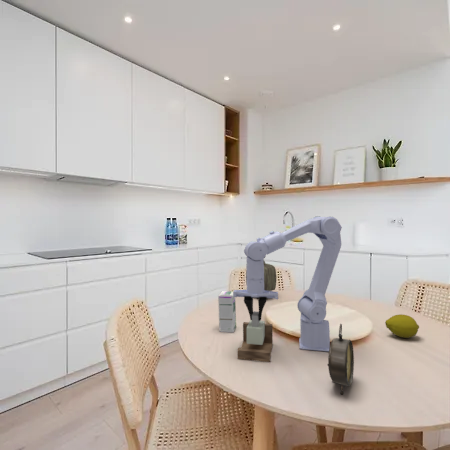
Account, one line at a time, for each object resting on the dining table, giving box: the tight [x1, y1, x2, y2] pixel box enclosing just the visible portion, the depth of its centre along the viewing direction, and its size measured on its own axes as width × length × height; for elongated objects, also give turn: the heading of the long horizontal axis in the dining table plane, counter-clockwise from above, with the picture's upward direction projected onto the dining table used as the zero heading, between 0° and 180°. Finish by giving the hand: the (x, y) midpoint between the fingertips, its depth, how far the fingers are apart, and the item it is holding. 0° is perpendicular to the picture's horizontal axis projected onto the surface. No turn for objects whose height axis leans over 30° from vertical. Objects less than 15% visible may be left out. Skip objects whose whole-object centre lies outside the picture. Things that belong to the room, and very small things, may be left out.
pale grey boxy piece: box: [247, 310, 266, 345], centre depth 96 cm, size 5×8×8 cm, turn 167°
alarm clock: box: [327, 323, 355, 396], centre depth 76 cm, size 11×5×16 cm, turn 148°
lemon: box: [384, 314, 420, 339], centre depth 105 cm, size 11×8×8 cm
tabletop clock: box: [245, 255, 277, 291], centre depth 155 cm, size 14×9×25 cm, turn 43°
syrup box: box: [217, 290, 237, 333], centre depth 114 cm, size 6×6×14 cm
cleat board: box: [237, 321, 274, 363], centre depth 96 cm, size 10×12×7 cm
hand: (255, 319), depth 96 cm, fingers closed on pale grey boxy piece
